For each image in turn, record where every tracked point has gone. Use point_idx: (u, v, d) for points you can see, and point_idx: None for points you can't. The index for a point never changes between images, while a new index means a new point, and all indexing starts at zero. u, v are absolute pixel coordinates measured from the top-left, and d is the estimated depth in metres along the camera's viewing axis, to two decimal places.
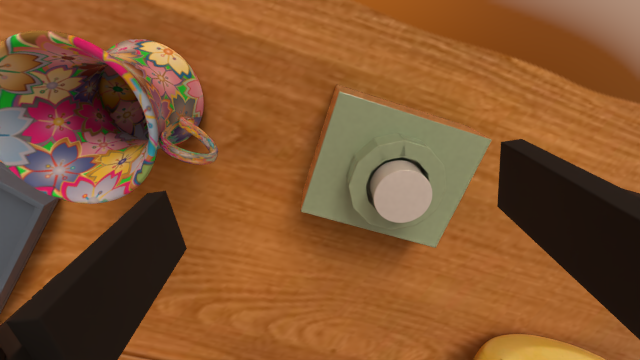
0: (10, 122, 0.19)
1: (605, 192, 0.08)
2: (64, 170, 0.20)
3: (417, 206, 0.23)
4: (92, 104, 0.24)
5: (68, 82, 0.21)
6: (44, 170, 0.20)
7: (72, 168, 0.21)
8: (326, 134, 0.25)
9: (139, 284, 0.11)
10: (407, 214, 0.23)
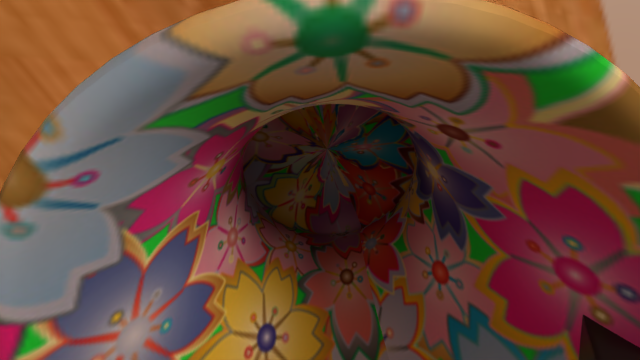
0: (139, 167, 0.04)
1: None
2: (145, 335, 0.06)
3: None
4: None
5: None
6: (98, 336, 0.05)
7: (164, 328, 0.07)
8: None
9: None
10: None
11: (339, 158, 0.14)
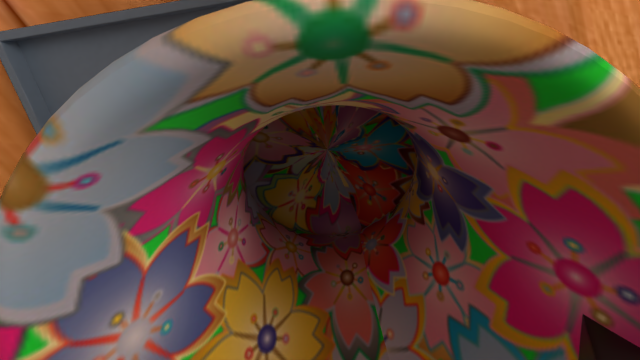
0: (140, 169, 0.04)
1: None
2: (146, 337, 0.06)
3: None
4: None
5: None
6: (99, 338, 0.05)
7: (165, 330, 0.07)
8: None
9: None
10: None
11: (339, 159, 0.14)
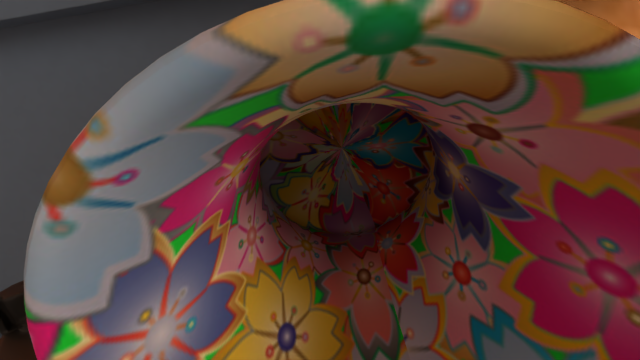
0: (174, 166, 0.04)
1: None
2: (171, 334, 0.06)
3: None
4: None
5: None
6: (129, 334, 0.05)
7: (190, 327, 0.07)
8: None
9: None
10: None
11: (353, 157, 0.14)
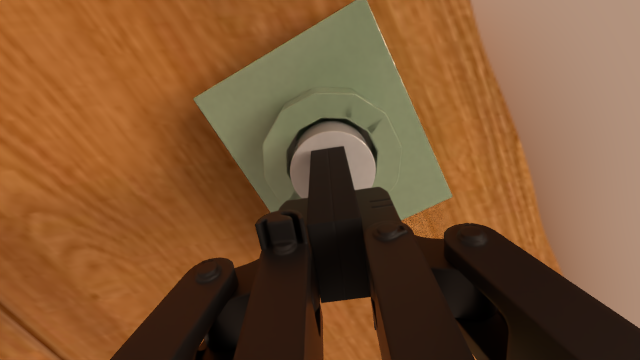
0: None
1: (340, 189, 0.11)
2: None
3: None
4: None
5: None
6: None
7: None
8: (305, 32, 0.17)
9: None
10: None
11: None
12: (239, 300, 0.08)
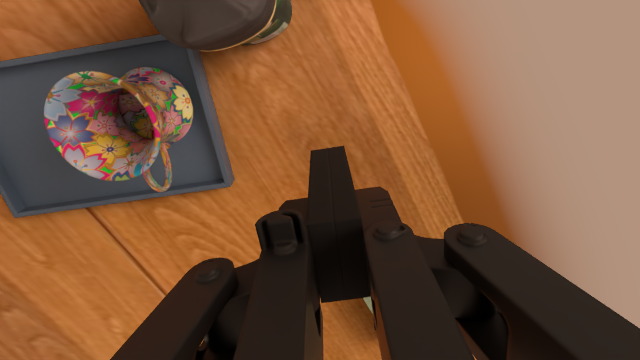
0: (67, 95, 0.28)
1: (340, 189, 0.11)
2: (73, 135, 0.30)
3: None
4: (116, 93, 0.34)
5: (117, 87, 0.31)
6: (62, 129, 0.29)
7: (78, 136, 0.30)
8: None
9: None
10: None
11: None
12: (239, 300, 0.08)
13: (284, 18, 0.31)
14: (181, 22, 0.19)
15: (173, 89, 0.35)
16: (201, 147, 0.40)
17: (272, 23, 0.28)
